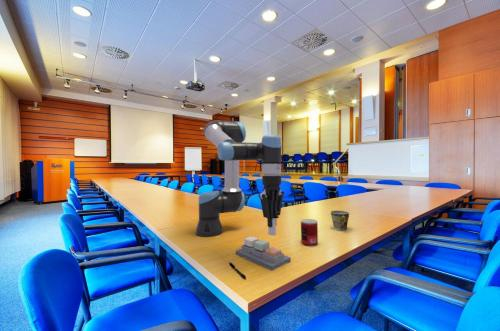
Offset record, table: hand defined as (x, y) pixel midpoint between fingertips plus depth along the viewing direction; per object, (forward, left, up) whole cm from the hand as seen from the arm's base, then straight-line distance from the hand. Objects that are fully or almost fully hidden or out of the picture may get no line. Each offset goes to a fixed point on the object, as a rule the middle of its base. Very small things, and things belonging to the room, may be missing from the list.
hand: (272, 234), depth 86 cm
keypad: (-6, 0, -11) cm, 12 cm away
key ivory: (-12, 0, -7) cm, 14 cm away
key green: (-6, 0, -7) cm, 9 cm away
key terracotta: (0, 0, -9) cm, 9 cm away
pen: (-4, -15, -11) cm, 19 cm away
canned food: (-1, +28, -11) cm, 30 cm away
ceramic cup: (0, +60, -11) cm, 61 cm away
